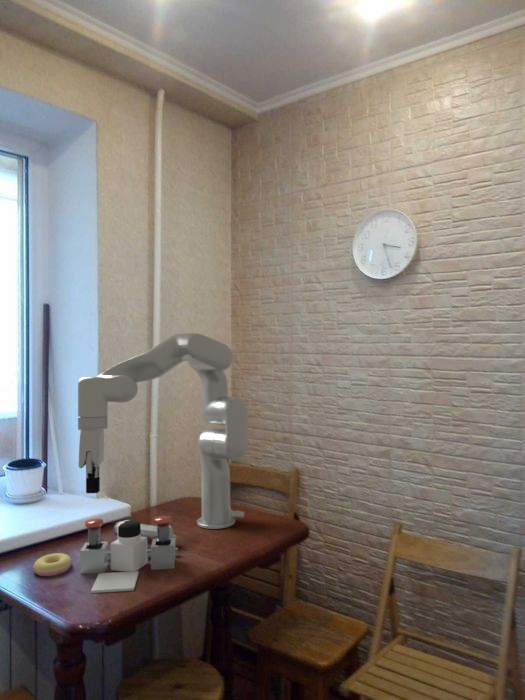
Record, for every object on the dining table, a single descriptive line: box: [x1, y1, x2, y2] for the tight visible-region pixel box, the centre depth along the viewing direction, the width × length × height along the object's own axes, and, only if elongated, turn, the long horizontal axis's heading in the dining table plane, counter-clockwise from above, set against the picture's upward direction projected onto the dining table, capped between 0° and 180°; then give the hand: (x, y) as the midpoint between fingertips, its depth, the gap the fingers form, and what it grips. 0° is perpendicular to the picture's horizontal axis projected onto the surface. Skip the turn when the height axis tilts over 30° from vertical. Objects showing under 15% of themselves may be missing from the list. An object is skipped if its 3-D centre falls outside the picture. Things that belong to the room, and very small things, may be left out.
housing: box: [79, 538, 179, 575], centre depth 145 cm, size 25×10×6 cm, turn 97°
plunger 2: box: [153, 515, 173, 545], centre depth 144 cm, size 5×5×8 cm
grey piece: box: [113, 520, 178, 547], centre depth 163 cm, size 5×7×25 cm
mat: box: [90, 570, 139, 594], centre depth 133 cm, size 10×10×1 cm
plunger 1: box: [84, 518, 104, 549], centre depth 142 cm, size 5×5×8 cm
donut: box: [32, 552, 73, 577], centre depth 142 cm, size 10×5×9 cm
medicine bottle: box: [109, 519, 149, 572], centre depth 143 cm, size 7×7×12 cm
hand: (92, 492), depth 142 cm, fingers closed
